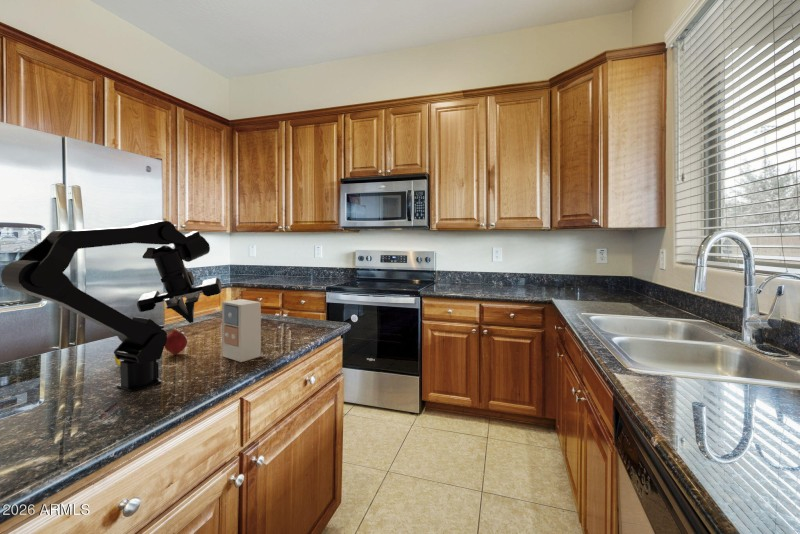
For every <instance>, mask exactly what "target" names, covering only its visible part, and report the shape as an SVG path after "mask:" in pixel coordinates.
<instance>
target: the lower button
mask: <svg viewBox="0 0 800 534" xmlns="http://www.w3.org/2000/svg"><path fill="white" fill-rule="evenodd" d="M224 342H225V343H228V344H232V345H236V346H239V341H238V327H234V326H229V325H225V326H224Z"/></svg>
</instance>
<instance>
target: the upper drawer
mask: <svg viewBox="0 0 800 534" xmlns="http://www.w3.org/2000/svg"><path fill="white" fill-rule="evenodd" d="M224 322H225V323H230V324H234V325H238V307H237V306H232V305H224Z"/></svg>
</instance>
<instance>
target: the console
mask: <svg viewBox="0 0 800 534" xmlns="http://www.w3.org/2000/svg"><path fill="white" fill-rule="evenodd" d="M237 299H238V300H234V299H233V300H232V299H230V300H224V301H221V351H222V352H221V354H222V355H221V356H222V357H224V358H227V359H230V360H233V361H236V362H239V363H242V362H246V361H250V360H252V359H257V358H260V357H261V356H262V354H261V353H262V351H261V348H262V347H261V343H262V342H261V336H262V335H261V333H262V331H261V327H262V325H261V323H262V322H261V319H262V317H261V316H262V315H261V312H262V311H261V309H262V308H261V307H262V303H261V301H257V300H256V301H255V300H249V299H245V298H244V299H243V298H237ZM224 305H232V306H237V307H238V325H234V324H230V323H225V322H224ZM225 325H229V326H234V327H238V341H239V346H236V345H232V344H228V343H225V342H224V326H225Z"/></svg>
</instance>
